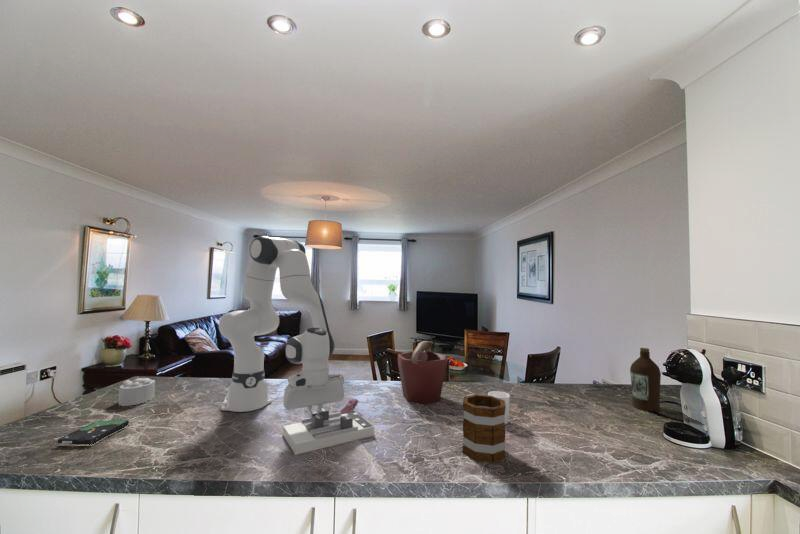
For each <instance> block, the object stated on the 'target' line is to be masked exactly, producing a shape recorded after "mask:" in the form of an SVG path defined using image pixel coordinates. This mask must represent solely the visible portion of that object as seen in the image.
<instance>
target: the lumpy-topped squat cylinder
mask: <svg viewBox="0 0 800 534" xmlns="http://www.w3.org/2000/svg"><path fill="white" fill-rule="evenodd" d="M155 389H156V380H155V379H151V378H149V377H142V378H141V377H140V378H135V379H134V380H130V379H127V380H124V381H123V383H122V384H121V385H120V386H119V389H118V391H119V392H118V404H119V405H121V406H129V405H135V404H140V403H143V402H146V401H148V400H150V399H152V398H153V397H154V398H155V393H156V391H155ZM154 398H153V399H154ZM153 399H152V400H153ZM150 401H151V400H150ZM148 402H149V401H148ZM146 403H147V402H146ZM143 404H144V403H143ZM119 405H118V406H119ZM140 405H141V404H140Z"/></svg>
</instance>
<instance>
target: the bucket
mask: <svg viewBox="0 0 800 534" xmlns="http://www.w3.org/2000/svg"><path fill="white" fill-rule="evenodd" d="M433 344H434V341H432V340H422V341H420V342H418V344H417V346H416V347H415V349H414V350H413V351H407V352H402V353H400V354H397V366H398V371H399V376H400V377H399V378H400V384H401V390H402V395H403V398H404V397H405V398H404V399H405V400H406V401H407V403H411V402H412V403H411V404H417V403H418V405H424V406H425V405H431V404H436V403H437V402H438V403H440V401H441V397H442V396H441V395H442V391H443V390H442V389H443V386H444V380H445V374H446V369H447V364H448V363H447V362H448V355H447V354H443V353H439V352H434V351H432V350H431V347H432V345H433ZM422 350H423V351H422Z"/></svg>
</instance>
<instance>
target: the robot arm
mask: <svg viewBox="0 0 800 534" xmlns="http://www.w3.org/2000/svg"><path fill="white" fill-rule="evenodd" d="M249 255H250V257H251V258H250V260H249V263H248V266H247V269H246V272H245V273H246V274H245V278H244V283H243V287H242V295H243V297H244V298H245V299H246V300H247V301H249V304H250V305H249V309H242V310H239V309H238V310H234V311H229V312H227V313H225V314H223V315H222V316H221V317H220V319H219V323H218V330H219V332H220V334H221V335H222V337H224V338H225V339H227V340H228V341H229V343H230V345H231V347H232V350H233V360H234V362H233V364H234V365H233V371H232V375H231V378H232V379H231V380H232V382H231V384H230V385H229V387H228V388H225V395H226V396H225V397H224V400H223V402H222V405H221V407H220V409H221V411H230V412H234V413H235V412H236V413H237V412H238V413H242V412H251V411H256V410H259V409H262V408H264V407H265V406H266V405H269V404H271V403H272V402H273V400H272V399H271V398H270V397H269V383H268V382H267V381H266V380H265V373H266V372H265V369H264V365H265V364H264V361H265V350H264V349H263V348H262V347H261V346H259V345H257V344H256V343H257V342H256V341H255V336H263V335H264V336H265V335H267V334H270V333H272V332H275V331H276V330H277V329H278V327H279V326H280V317H279V316H280V315H279V314H278V313H277V312H276V310H275V308H274V307H273V302H272V299H273V298H272V294H273V289H274V284H275V279H276V273H277V269H278V271H279V285H280V286H279V287H280V291H281V294H282V295H283V296H284V298H285V299H286V300H287V301H289V302H291V303H293V304H295V305H298V306H301V307H303V308H305V309H306V310H307V312H308V313H309V314H310V318H311V322H312V327H310V328H307V329H306V330H305V331H304V332H303V333H301V334H298V335H296V336H292V337H290V338H289V339H288V340H287V341H286V344H285V347H284V355H285V358H286V359H287V361H288V362H290V363H291V364H295V365H296V364H297V365H298V364H302V370H301V371H298V372H297V373H294V374H292V375H290V376H288V378H287V383H288V385H286V387H285V390H284V395H283V401H282V402H283V407H284V408H285V409H286V410H287V411H291V410H295V409H303V408H306V410H307V411H308V413H309V415H308V418H310V419H312V416H315V415H319V413H320V411H321V409H322V408H324V407H323V406H324V404H325V405H326V404H331V403H336V402H341V401H343V400H344V398H345V389H344V388H345V387H344V384H345V376H344V375H343V374H341V373H335V374H330V363H329V359H330V358H331V357H332V354H333V353H334V351H335V346H336V345H335V341H334V338H333V335H332V334H331V331H330V326H329V323H328V319H327V315H326V311H325V307H324V303H323V301H322V297H321V295H320V294H319V293H318V292H317V291H316V290H315V288H314V284H313V283H312V278H311V272H310V271H311V270H310V266H309V261H308V258H307V253H306V248H305V246H304V245H303V243H301V242H299V241H297V240H291V239H289V238H284V237H277V236H276V237H275V236H267V235H262V236H256V237H255V238H253V240H252V241H251V243H250V245H249ZM315 406H317V408H316V410H315V411H312V410H313V407H315Z"/></svg>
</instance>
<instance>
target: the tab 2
mask: <svg viewBox="0 0 800 534" xmlns="http://www.w3.org/2000/svg"><path fill="white" fill-rule="evenodd" d="M352 427H353V418H352V417H351V416H349V415H347V416H342V417H341V418H340V428H341V429H342V430H343V429H347V428H352Z"/></svg>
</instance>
